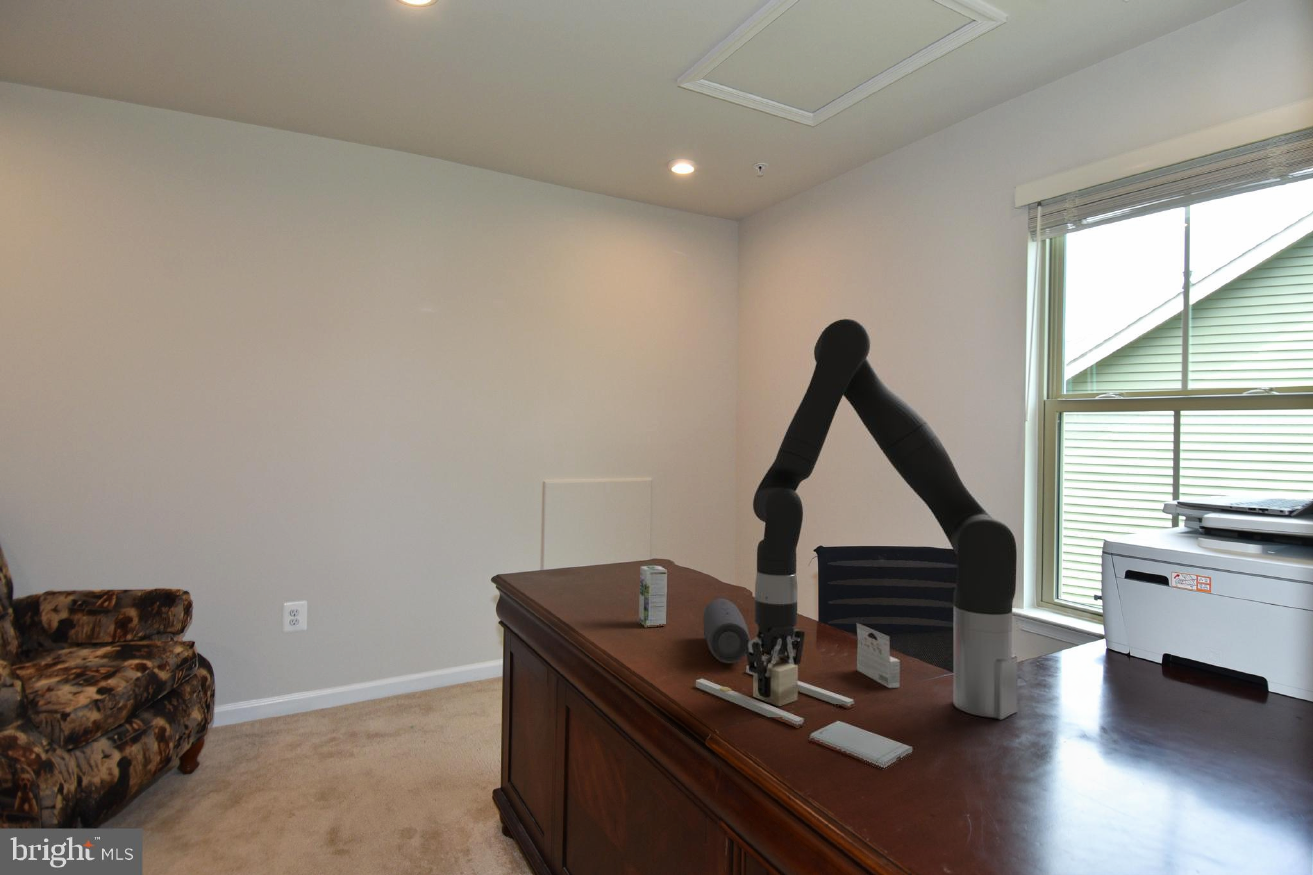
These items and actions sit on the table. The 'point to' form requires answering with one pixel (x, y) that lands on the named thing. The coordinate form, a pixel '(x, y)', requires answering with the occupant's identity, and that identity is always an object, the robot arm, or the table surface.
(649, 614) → the syrup box
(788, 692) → the block
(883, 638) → the ink cartridge box
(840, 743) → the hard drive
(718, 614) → the bluetooth speaker
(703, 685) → the slot rails
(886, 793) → the table surface
